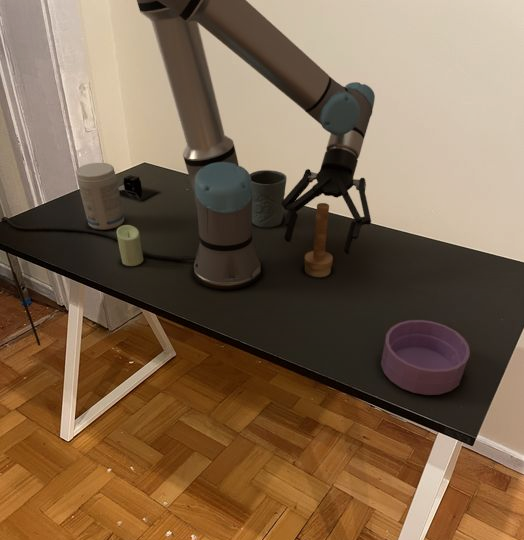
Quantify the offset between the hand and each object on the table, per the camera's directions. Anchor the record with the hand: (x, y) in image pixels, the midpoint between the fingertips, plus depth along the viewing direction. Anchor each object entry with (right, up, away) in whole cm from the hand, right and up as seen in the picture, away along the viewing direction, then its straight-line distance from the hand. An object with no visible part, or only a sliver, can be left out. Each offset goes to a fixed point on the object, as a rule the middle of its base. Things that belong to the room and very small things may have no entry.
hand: (316, 246), depth 114 cm
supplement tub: (-54, +11, +25) cm, 60 cm away
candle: (-43, -2, +10) cm, 44 cm away
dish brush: (+1, -4, +7) cm, 8 cm away
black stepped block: (-50, +24, +41) cm, 69 cm away
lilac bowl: (+17, -26, -20) cm, 37 cm away
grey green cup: (-11, +12, +27) cm, 31 cm away
